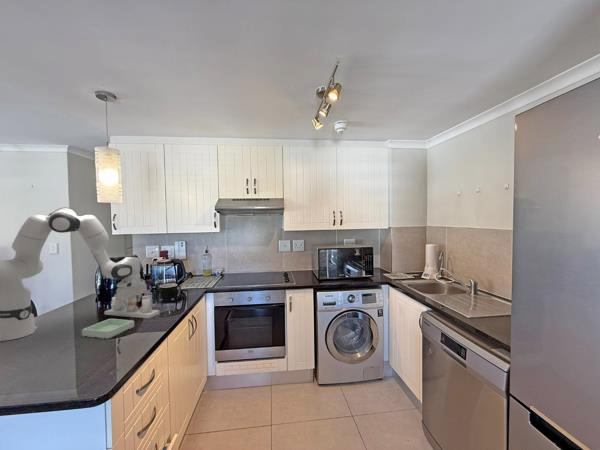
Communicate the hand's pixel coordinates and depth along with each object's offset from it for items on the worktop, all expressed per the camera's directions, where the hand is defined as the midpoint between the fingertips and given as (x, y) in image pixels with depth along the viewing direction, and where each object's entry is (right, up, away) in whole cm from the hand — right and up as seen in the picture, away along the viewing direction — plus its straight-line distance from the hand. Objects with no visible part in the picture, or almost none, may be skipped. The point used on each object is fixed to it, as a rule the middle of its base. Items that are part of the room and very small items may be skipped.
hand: (132, 303), depth 171 cm
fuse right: (+10, -5, -2) cm, 11 cm away
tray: (+5, -7, -27) cm, 29 cm away
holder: (0, -7, 0) cm, 7 cm away
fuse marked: (0, -5, 0) cm, 5 cm away
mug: (+10, -7, +28) cm, 30 cm away
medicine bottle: (-17, -7, +13) cm, 23 cm away
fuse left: (-10, -5, +2) cm, 11 cm away
